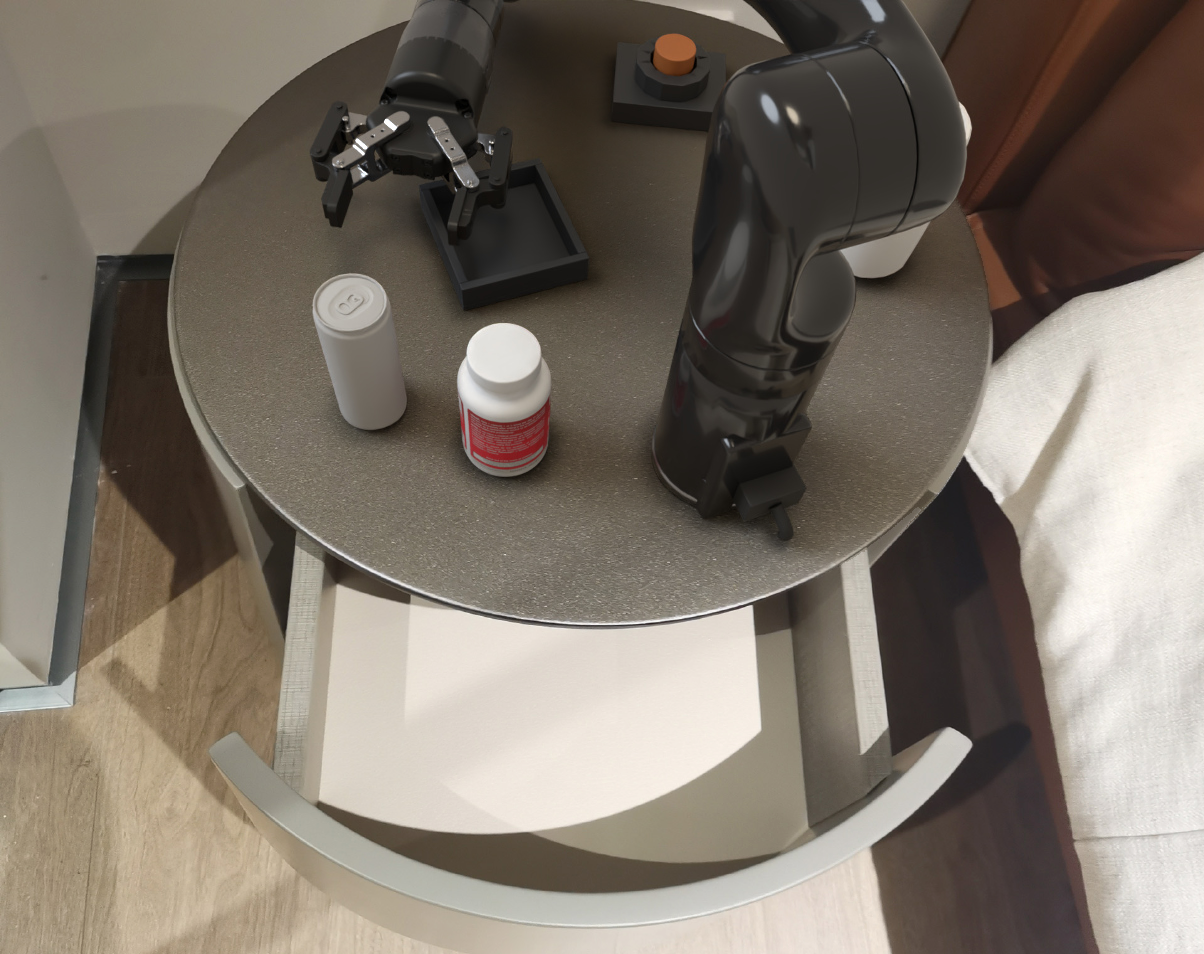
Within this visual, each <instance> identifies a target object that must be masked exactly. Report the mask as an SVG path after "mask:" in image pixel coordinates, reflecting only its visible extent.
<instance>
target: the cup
mask: <svg viewBox="0 0 1204 954" xmlns="http://www.w3.org/2000/svg"><path fill="white" fill-rule="evenodd" d="M959 105H960V109H961V113H962V117H963V121H964V126H965V132H966V146H967V147H968V145H969V142H970V139H971V134H972V130H973V125H972V122H971V118H970V115H969V113H968V111H967V109H966V107H965V106H964V105H963V104H962V103H961V102H960V101H959ZM930 223H931V221H930V222H928V223H926V224H923V225H921V226H918V227H915V228H912V229H910V230H907V231H904V232H901V233H898V234H895V235H891V236H888V237H885V238H881V239H878V240H874V241H870V242H867V243H863V244H860V245H856V246H853V247H849V248H846V249H842V250H840V251H841V252H842V253H843V255H844V256H845V258H846V259H847V261H848V262H849V264H850V266H851V269H852V271H853V274H854V277H857V278H865V279H866V278H867V279H877V278H884V277H887V276H890V275H893V274H896V272H898V271H900V270H901V269H902V268H904V266H905V264H906V263H907V261H908V260H909V258H910V257H911V255H912V254H913V252H914V250H915V249H916V247H917V246H918V244H919V242H920V240H921V239H922V237H923V235H924V233H925V232H926V230H927V228H928V227H929V225H930Z"/></svg>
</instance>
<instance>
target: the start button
mask: <svg viewBox="0 0 1204 954" xmlns="http://www.w3.org/2000/svg"><path fill="white" fill-rule="evenodd" d="M663 35H664V36H663ZM663 35H661V36H662V37H660V38H659V39H658V40H657V41H656V44H655V51H654V57H653V64H654V67H655V68H656V70H658V71H660V72H662V73H664V74H666V75H671V76H683V75H686V74H689V73H690V72H691V71H692V69H693V65H694V60H695V55H696V46H695V44H694V42H695V41H693V40H692V39H691V38H689V37H687V36H686V35H683V34H679V33H667V34H663Z"/></svg>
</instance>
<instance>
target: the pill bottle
mask: <svg viewBox="0 0 1204 954" xmlns="http://www.w3.org/2000/svg"><path fill="white" fill-rule="evenodd" d="M467 344H468V345H467V348H466V355H465V357H464V359H463V360H462V362H461V364H460V365H459V368H458V372H457V376H456V377H457V378H456V387H457V396H458V397H457V398H458V407H459V418H460V428H461V439H462V440H461V441H462V446H463V449H464V452H465V454H466V456H467V457H468V460H469V461H470V462H471V463H472V464H473V465H474V466H475V467H476V468H478V469H479V470H480V471H482V472H484V473H486V474H487V475H491V476H495V477H504V478H505V477H507V478H508V477H516V476H520V475H522V474H525V473H527V472H529V471H531V470H533V468H535V467H536V466H538V464H540V462H541V461H542V460H543V458H544V456H545V455H546V452H547V449H548V446H549V439H550V438H549V437H550V422H551V401H552V375H551V371H550V367H549V365H548V364H547V362H546V360H545V359H544V357H543V356H542V348H541V344H540V342H539V340H538V339H537V337H536V335H534V333H532V332H531V331H530V330H528V329H527V328H525V327H523V326H521V325H518V324H515V323H509V322H500V323H499V322H498V323H493V324H489V325H486V326H484V327H482V328H481V329H479V330H478V331H476V333H475V334H473V336H472V337H471V338H470V339H469V342H468V343H467Z"/></svg>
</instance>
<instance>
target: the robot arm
mask: <svg viewBox="0 0 1204 954" xmlns="http://www.w3.org/2000/svg"><path fill="white" fill-rule="evenodd" d="M742 1H743V2H744V3H746V4H747V5H748V6H750V8H752V9H753V10H754V11H755V12H756V13H757V14H758V15H760V16H761V18H763V19H764V20H765V22H766V23H767V24H768V25H769V26H770V27H771V29H772V30H773V31H774V32H775V34H776V35H777V36H778V38H779V39H780V40H781V41H782V43H783V44H784V46H785V47H786V49H787V50H788V52H789V54H787V55H782V56H778V57H773V58H769V59H764V60H760V61H756V62H751V63H749V64H747V65H745V66H742V67H741V68H740V69H738V70H736V71H735V72H734V73H733V74H732V75H731V76H730V77H729V78H728V80H726V84H725V85H724V87H723V89H722V91H721V92H720V94H719V96H718V99H717V101H716V104H715V106H714V109H713V113H712V116H711V120H710V124H709V129H708V131H707V135H706V141H705V146H704V154H703V160H702V167H701V175H700V183H699V188H698V195H697V200H696V201H697V202H696V206H695V213H694V218H693V224H692V232H691V268H692V269H691V271H692V272H691V282H690V285H689V289H688V292H687V293H688V294H687V298H686V302H685V306H684V309H683V314H682V318H681V322H680V326H679V330H678V334H677V338H676V342H675V346H674V351H673V355H672V359H671V362H670V363H671V364H670V367H669V372H668V376H667V380H666V384H665V388H664V393H663V396H662V401H661V404H660V409H659V413H658V418H657V422H656V424H655V427H654V429H653V433H652V437H651V443H650V457H651V458H650V459H651V463H652V465H653V468H654V471H655V473H656V475H657V477H658V478H659V480H660V481H661V483H662V484H663V486H665V488H666V489H667V490H668V491H669V492H670V493H672V494H673V495H674V496H675V497H677V498H678V499H679V500H681V501H683V502H684V503H686V504H688V505H691V506H693V507H694V508H695V509H696V511H697V512H698V514H699V516H700V518H701V519H703V520H707V519H710V518H712V517H717V516H719V515H722V514H725V513H727V512H732V511H735V510H737V511H738V513H739V515H740V517H741V519H742V521H743V522H744V523H745V522H748V521H751V520H754V519H756V518H760V517H763V516H766V515H768V514H771V516H772V518H773V520H774V523H775V524H776V526H777V529H778V531H777V533H776V535H777V538H778V539H779V540H780V541H782V542H789V541H791V540H793V538H794V536H795V531H794V527H793V523H792V521H791V519H790V516H789V515H788V513H787V511H786V509H787V508H790V507H793V506H794V505H798V504H799V503H800V501H801V499H802V497H803V496H804V494H805V492H806V490H807V486H806V484H805V482H804V480H803V479H802V477H801V475H800V473H799V471H798V469H797V468H796V466H795V462H796V460H797V458H798V456H799V454H800V452H801V451H802V448H803V446H804V445H805V442H806V440H807V438H808V437H809V434H810V432H811V431H812V428H813V423H812V421H811V420H810V418H809V416H808V414H807V413H806V412H807V410H808V408H809V406H810V404H811V401H812V400H813V397H814V395H815V394H816V392H817V389H818V387H819V385H820V384H821V381H822V379H823V377H824V375H825V373H826V370H827V369H828V367H829V365H830V363H831V362H832V361H831V360H832V359H833V357H834V355H835V353H836V350H837V349H838V346H839V344H840V342H841V340H842V338H843V336H844V334H845V332H846V330H847V327H848V326H849V323H850V321H851V319H852V316H853V314H854V311H855V307H856V303H857V302H856V301H857V282H856V276H855V275H854V274H853V271H852V269H851V266H850V264H849V262H848V261H847V259H846V258H845V256H844V255H843V253H842V252H841V251H840V250H842V249H846V248H849V247H853V246H856V245H860V244H863V243H867V242H870V241H874V240H878V239H881V238H885V237H888V236H891V235H895V234H898V233H901V232H904V231H907V230H910V229H912V228H915V227H918V226H921V225H923V224H926V223H928V222H930V223H931V222H932V221H934V220H936V219H938V218H939V217H940V216H942V215H943V214H944V213H945V212H946V211H948V209H949V208H950V207H951V206H952V205H953V203H954V202H955V200H956V199H957V197H958V196H959V193H960V191H961V188H962V185H963V182H964V180H965V176H966V167H967V159H968V145H967V146H966V132H965V126H964V121H963V117H962V113H961V109H960V105H959V102H960V101H959V99H958V96H957V94H956V91H955V88H954V86H953V83H952V81H951V78H950V76H949V74H948V72H947V69H946V67H945V66H944V64H943V62H942V60H941V58H940V56H939V55H938V53H937V51H936V49H935V48H934V46H933V44H932V43H931V41H930V40H929V38H928V36H927V35H926V33H925V31H924V30H923V29H922V27H921V26H920V24H919V22H918V20H916V18H915V17H914V15H913V13H912V12H911V11H910V9H909V7H908V6H907V5H906V3H905V2H904V1H903V0H742ZM516 2H520V0H416V4H415V6H414V8H413V12H412V15H411V18H410V20H409V21H408V23H407V24H406V27H405V28H404V30H403V31H402V33H401V37H400V39H399V41H398V45H397V48H396V50H395V53H394V56H393V58H392V62H391V65H390V67H389V70H388V73H387V76H386V79H385V81H384V85H383V87H382V90H381V93H380V97H379V101H378V104H377V106H376V107H375V108H374V109H373V110H372V111H370V112H369V113H368V114H367V115H366V114H362V113H361V114H360V113H355V112H352V111H351V112H350V111H349V108H348V104H347V103H346V102H344V101H341V100H337V101H334V102H333V103H331V105H330V107H329V109H328V111H327V113H326V115H325V117H324V120H323V121H322V124H321V126H320V128H319V130H318V132H317V134H316V136H315V138H314V140H313V142H312V145H311V147H310V149H309V155H310V159H311V163H312V164H311V165H312V168H313V171H314V177H315V179H316V180H317V181H318V182H321V183H326V184H325V187H324V190H323V192H322V195H321V197H320V200H321V205H322V210H323V214H324V218H325V219H328V223H329V226H330V227H333V228H340V229H342V227H343V225H344V222H345V220H346V217H347V216H346V215H347V213H348V211H349V207H350V204H351V201H352V198H353V196H354V189H356V188H358V187H359V186H360V185H362V184H364V183H365V182H367V181H369V182H370V183H374V182H376V181H378V180H379V179H381V178H383V177H384V176H386V175H388V174H390V173H391V172H392V175H396V176H403V177H405V176H415V177H418V178H420V179H423V180H430V181H435V180H436V178H442V179H443V180H444V182H445V183H446V185H447V186H448V188H449V189H450V191H451V192H452V194H456V195H455V199H454V202H453V206H452V210H451V213H450V217H449V221H448V226H447V233H448V244H449V245H453V246H459V244H460V240H461V239H462V240H467V239H468V238H469V237H470V235H471V232H472V228H473V224H474V220H475V216H476V212H477V210H478V209H479V208H480V207H481V206H485V205H490V206H491V207H492V208H495V209H501V208H503V207H504V206H505V204H506V198H507V191H508V185H509V179H510V172H511V166H512V164H513V159H514V155H513V154H514V153H513V151H514V139H513V138H514V136H513V135H514V134H513V133H514V132H513V130H512V129H511V128H510V127H508V126H502V127H499V128H497V130H496V133H495V134H491V133H483V132H479V131H478V126H479V121H480V119H481V116H482V111H483V107H484V104H485V100H486V97H487V94H488V93H489V90H490V87H491V83H492V81H491V78H492V74H493V69H494V58H495V51H496V47H497V44H498V40H499V37H500V34H501V31H502V27H503V22H504V19H505V18H504V17H505V4H506V3H507V4H512V3H516ZM354 140H355V141H354ZM347 145H348V146H351V147H349V148H348V149H346V147H347ZM375 152H376V153H377V155H378V157H379V158H377V159H376V156H375V155H376V154H375ZM478 152H480V153H482V154H483V155H484V160H485V161H486V162H487V163H488V164H489V167H490V168H489V169H490V174H489V179H480V180H479V179H478V177H477V176H476V174H475V173H474V172H475V171H474V170H473V168H472V166H471V165H470V164H469V160H470V159H472V158H473V157H475V156H476V154H477V153H478Z"/></svg>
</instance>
